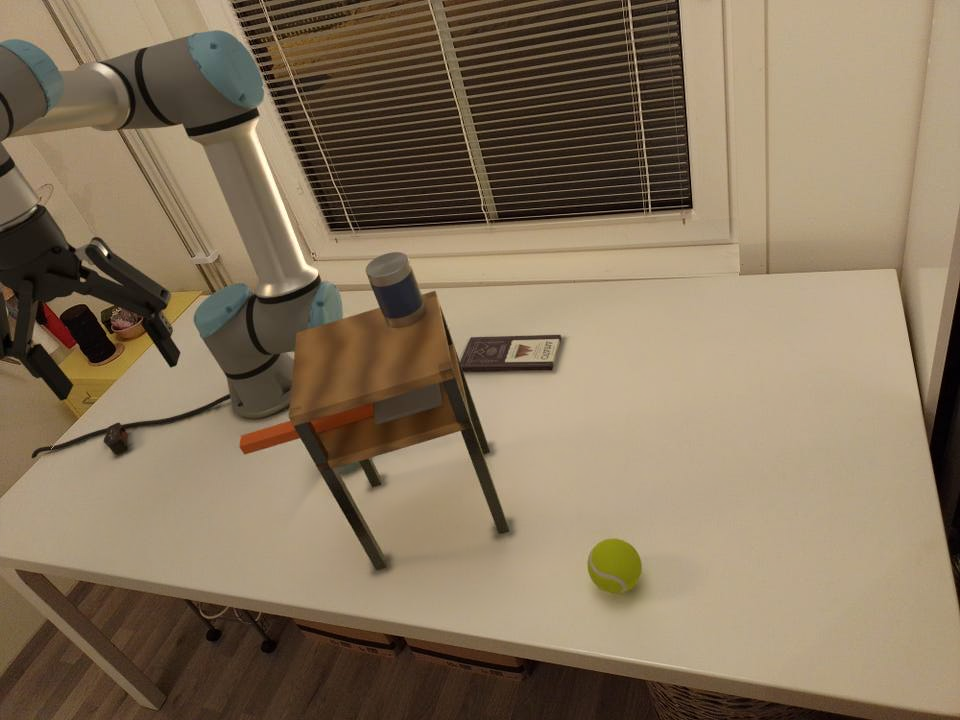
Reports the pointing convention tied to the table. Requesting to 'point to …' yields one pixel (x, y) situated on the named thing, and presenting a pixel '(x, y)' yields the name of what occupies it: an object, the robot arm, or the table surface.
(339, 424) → the spatula
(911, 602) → the table surface
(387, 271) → the tin can
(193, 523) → the table surface
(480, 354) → the chocolate bar
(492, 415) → the table surface
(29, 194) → the robot arm
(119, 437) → the dark brown lumpy chunk
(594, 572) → the tennis ball
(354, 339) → the side table
